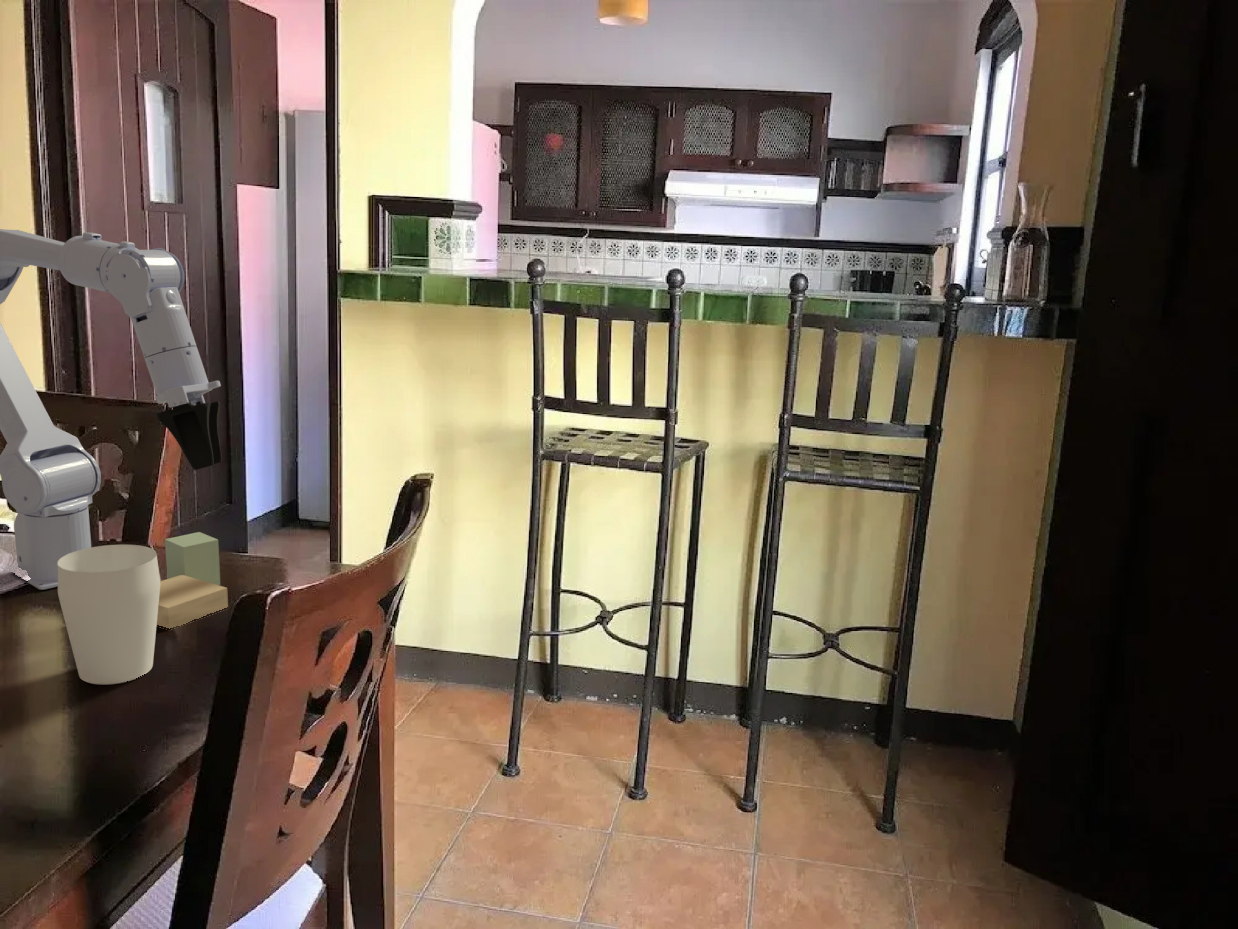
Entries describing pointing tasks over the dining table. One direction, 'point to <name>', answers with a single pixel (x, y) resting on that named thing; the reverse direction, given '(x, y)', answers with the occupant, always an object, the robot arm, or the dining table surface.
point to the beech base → (188, 600)
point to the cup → (110, 610)
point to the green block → (193, 557)
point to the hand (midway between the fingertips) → (208, 466)
